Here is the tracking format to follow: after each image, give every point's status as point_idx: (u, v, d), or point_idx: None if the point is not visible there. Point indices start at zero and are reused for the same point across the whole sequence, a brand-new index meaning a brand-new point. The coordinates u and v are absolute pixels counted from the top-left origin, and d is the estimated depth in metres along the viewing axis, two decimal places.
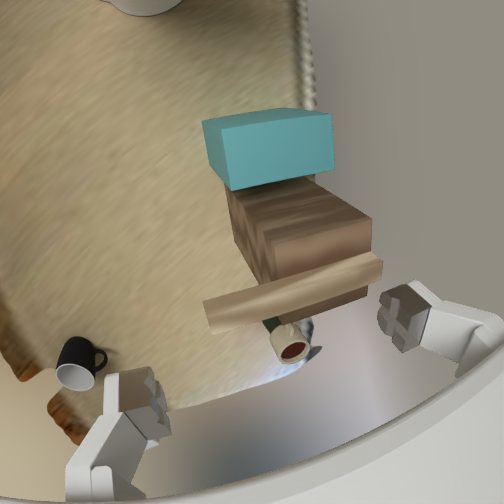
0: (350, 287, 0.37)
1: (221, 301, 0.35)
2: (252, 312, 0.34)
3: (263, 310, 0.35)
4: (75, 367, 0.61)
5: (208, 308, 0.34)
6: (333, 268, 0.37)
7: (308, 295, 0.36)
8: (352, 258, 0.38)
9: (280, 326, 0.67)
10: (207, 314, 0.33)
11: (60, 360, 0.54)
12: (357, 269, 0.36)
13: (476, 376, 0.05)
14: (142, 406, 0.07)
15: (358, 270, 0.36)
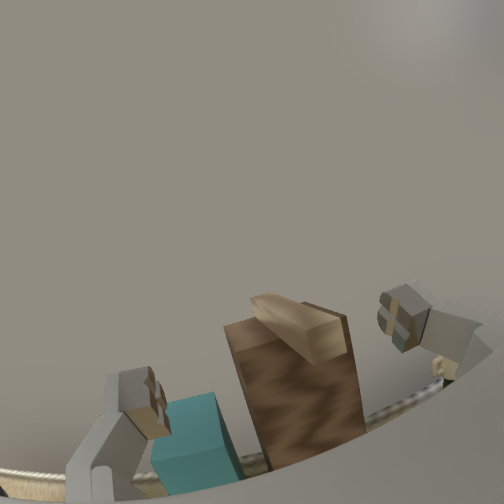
0: (274, 296, 0.39)
1: (301, 346, 0.24)
2: (299, 314, 0.27)
3: (297, 311, 0.28)
4: None
5: (307, 344, 0.22)
6: (263, 317, 0.37)
7: (279, 304, 0.33)
8: (259, 318, 0.40)
9: (447, 377, 0.41)
10: (305, 333, 0.22)
11: None
12: (255, 301, 0.40)
13: (476, 376, 0.05)
14: (142, 406, 0.07)
15: (256, 300, 0.40)
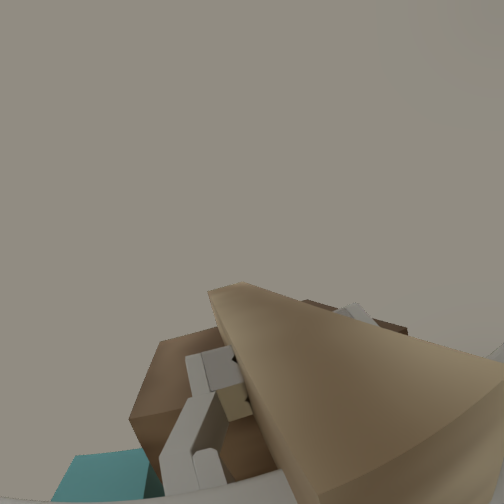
0: (245, 288, 0.19)
1: (293, 490, 0.04)
2: (289, 339, 0.07)
3: (284, 326, 0.08)
4: None
5: None
6: (220, 330, 0.18)
7: (246, 303, 0.14)
8: (219, 331, 0.21)
9: None
10: None
11: None
12: (210, 298, 0.20)
13: None
14: (236, 383, 0.08)
15: (211, 295, 0.20)
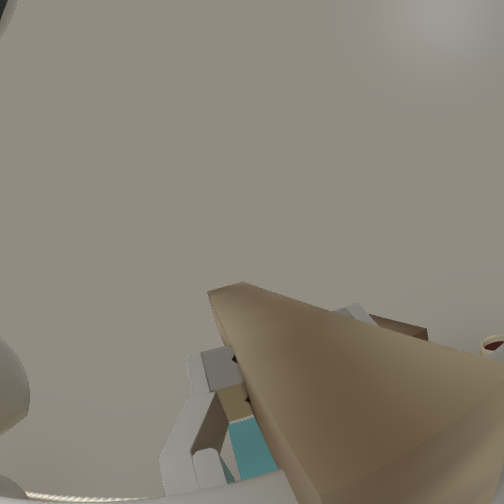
0: (245, 288, 0.19)
1: (294, 491, 0.04)
2: (289, 339, 0.07)
3: (284, 326, 0.08)
4: None
5: None
6: (220, 330, 0.18)
7: (246, 303, 0.14)
8: (219, 331, 0.21)
9: None
10: None
11: None
12: (210, 298, 0.20)
13: None
14: (236, 383, 0.08)
15: (211, 295, 0.20)
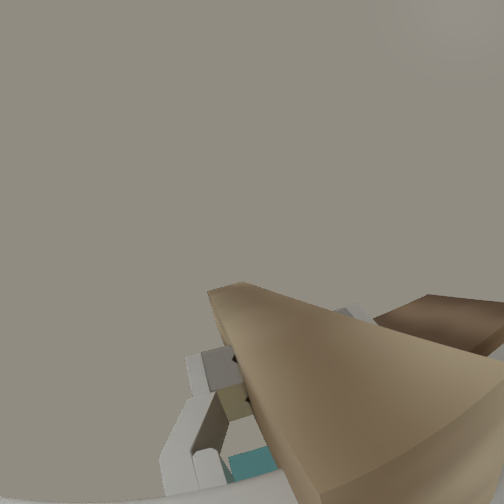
0: (245, 287, 0.19)
1: (293, 490, 0.04)
2: (289, 338, 0.07)
3: (284, 325, 0.08)
4: None
5: None
6: None
7: (246, 303, 0.14)
8: (219, 330, 0.21)
9: None
10: None
11: None
12: (210, 298, 0.20)
13: None
14: (236, 383, 0.08)
15: (211, 295, 0.20)
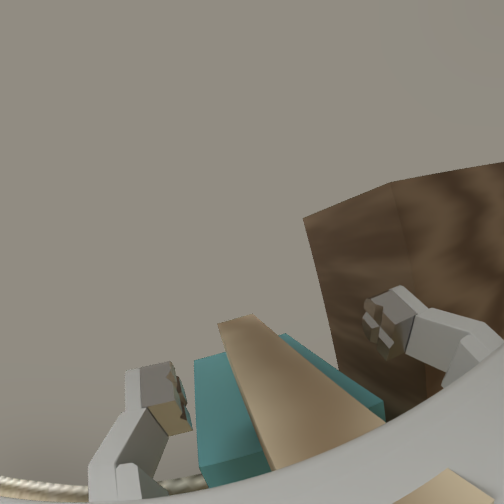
0: (257, 327, 0.19)
1: None
2: (311, 431, 0.07)
3: (304, 407, 0.08)
4: None
5: None
6: (233, 371, 0.18)
7: (261, 358, 0.14)
8: (230, 365, 0.21)
9: None
10: None
11: None
12: (221, 336, 0.20)
13: (476, 376, 0.05)
14: (166, 401, 0.07)
15: (223, 333, 0.20)
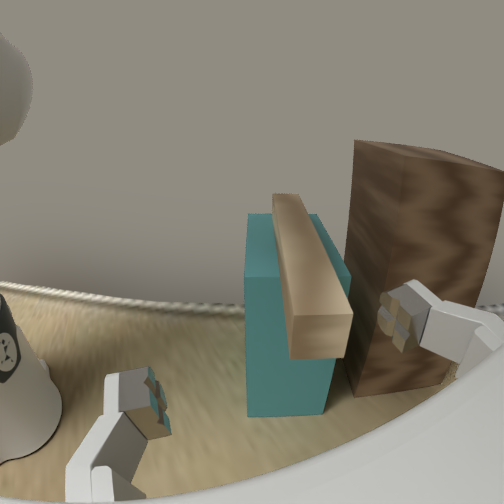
0: (298, 206, 0.30)
1: (288, 320, 0.17)
2: (306, 266, 0.18)
3: (307, 257, 0.20)
4: None
5: (291, 330, 0.15)
6: (275, 228, 0.29)
7: (295, 227, 0.24)
8: (273, 224, 0.32)
9: None
10: (293, 318, 0.14)
11: None
12: (274, 204, 0.31)
13: (476, 376, 0.05)
14: (142, 406, 0.07)
15: (275, 202, 0.31)
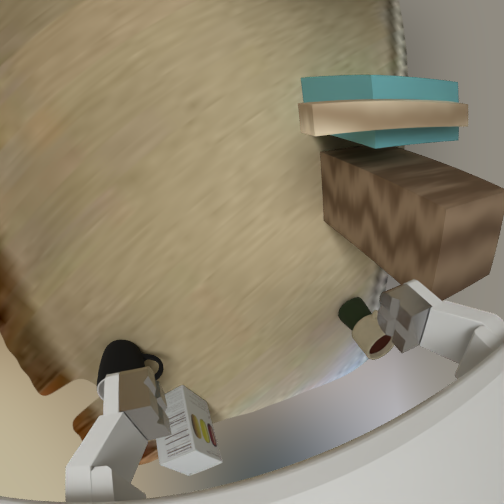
0: (445, 121, 0.28)
1: (322, 102, 0.26)
2: (360, 114, 0.25)
3: (371, 116, 0.26)
4: None
5: (309, 103, 0.25)
6: (426, 100, 0.28)
7: (411, 113, 0.27)
8: (438, 100, 0.29)
9: (365, 317, 0.57)
10: (311, 104, 0.24)
11: (104, 371, 0.44)
12: (449, 102, 0.27)
13: (476, 377, 0.05)
14: (142, 406, 0.07)
15: (450, 104, 0.27)
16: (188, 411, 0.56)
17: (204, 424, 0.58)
